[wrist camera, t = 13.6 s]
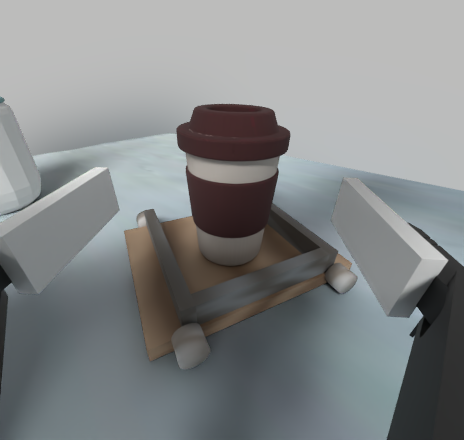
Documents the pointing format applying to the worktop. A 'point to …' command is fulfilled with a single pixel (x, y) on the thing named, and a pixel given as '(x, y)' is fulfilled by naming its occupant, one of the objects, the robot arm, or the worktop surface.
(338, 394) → the worktop surface
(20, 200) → the soap bottle
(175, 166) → the worktop surface
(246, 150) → the coffee cup
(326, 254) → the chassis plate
